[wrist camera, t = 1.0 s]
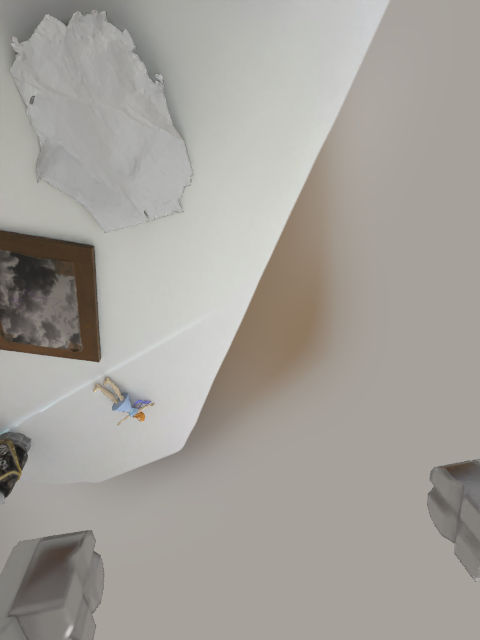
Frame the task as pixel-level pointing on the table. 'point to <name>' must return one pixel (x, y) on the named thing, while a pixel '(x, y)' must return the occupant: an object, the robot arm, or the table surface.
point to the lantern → (12, 461)
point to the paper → (101, 121)
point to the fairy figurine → (123, 401)
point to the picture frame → (48, 297)
